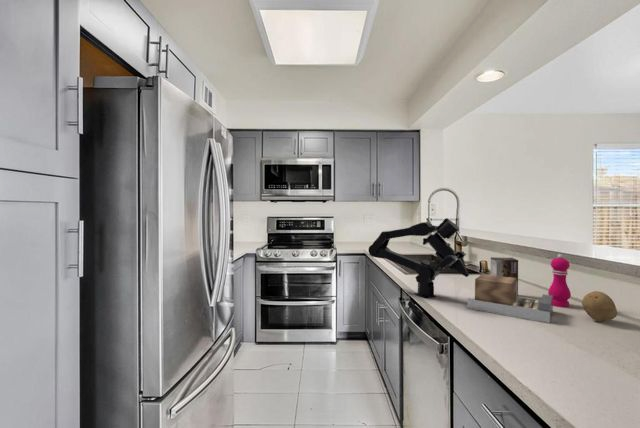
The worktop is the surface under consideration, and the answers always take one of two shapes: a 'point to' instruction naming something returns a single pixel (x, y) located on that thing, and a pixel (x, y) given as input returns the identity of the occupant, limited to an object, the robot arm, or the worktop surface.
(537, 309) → the track
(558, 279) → the pepper mill
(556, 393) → the worktop surface
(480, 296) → the slab
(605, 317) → the potato
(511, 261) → the coffee box
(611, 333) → the worktop surface
